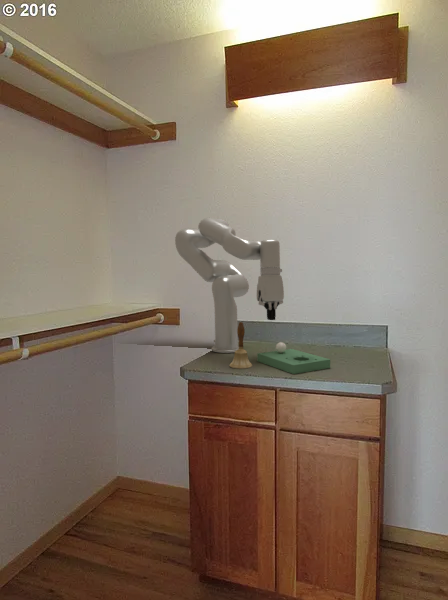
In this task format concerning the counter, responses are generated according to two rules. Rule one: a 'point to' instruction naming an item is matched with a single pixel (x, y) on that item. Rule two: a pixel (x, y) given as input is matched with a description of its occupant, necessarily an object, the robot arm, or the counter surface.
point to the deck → (293, 361)
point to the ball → (281, 347)
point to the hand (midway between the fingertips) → (271, 319)
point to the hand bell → (240, 351)
